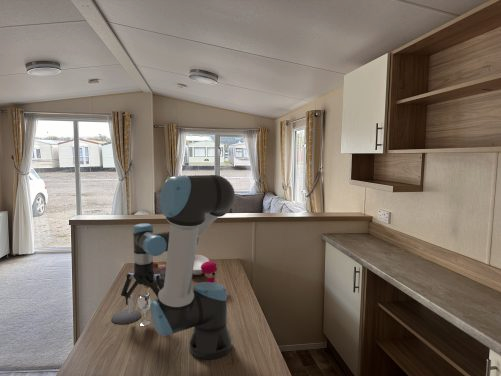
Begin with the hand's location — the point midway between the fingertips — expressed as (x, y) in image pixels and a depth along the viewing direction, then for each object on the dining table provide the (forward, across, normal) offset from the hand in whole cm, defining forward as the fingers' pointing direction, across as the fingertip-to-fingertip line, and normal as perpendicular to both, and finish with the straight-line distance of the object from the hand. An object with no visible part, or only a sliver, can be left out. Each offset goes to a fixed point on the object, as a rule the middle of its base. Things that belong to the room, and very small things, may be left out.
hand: (144, 313), depth 138 cm
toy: (+5, -18, -38) cm, 42 cm away
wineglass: (+5, 0, 0) cm, 5 cm away
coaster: (+4, +10, -4) cm, 12 cm away
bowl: (+5, -4, -65) cm, 65 cm away
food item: (+5, +15, -47) cm, 50 cm away
